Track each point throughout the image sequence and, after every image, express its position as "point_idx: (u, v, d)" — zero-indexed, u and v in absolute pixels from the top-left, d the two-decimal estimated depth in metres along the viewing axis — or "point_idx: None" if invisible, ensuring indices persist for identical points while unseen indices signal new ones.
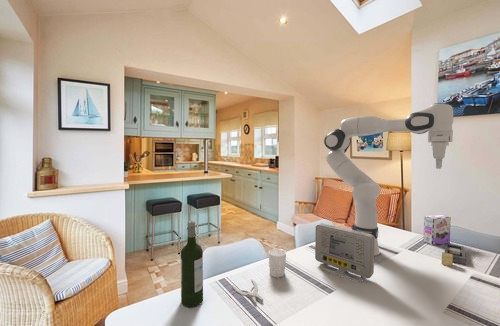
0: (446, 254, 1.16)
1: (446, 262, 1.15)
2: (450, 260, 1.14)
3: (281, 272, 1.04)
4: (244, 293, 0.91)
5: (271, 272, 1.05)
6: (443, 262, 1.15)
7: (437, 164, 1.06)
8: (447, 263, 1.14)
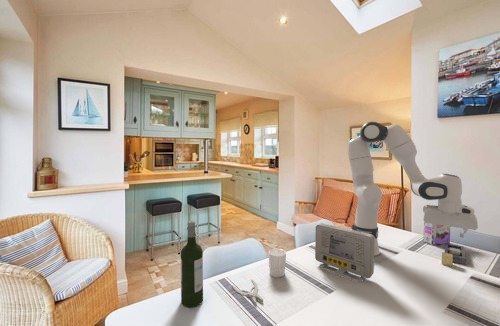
0: (446, 254, 1.16)
1: (446, 262, 1.15)
2: (450, 260, 1.14)
3: (281, 272, 1.04)
4: (244, 293, 0.91)
5: (271, 272, 1.05)
6: (443, 262, 1.15)
7: (464, 233, 1.11)
8: (447, 263, 1.14)
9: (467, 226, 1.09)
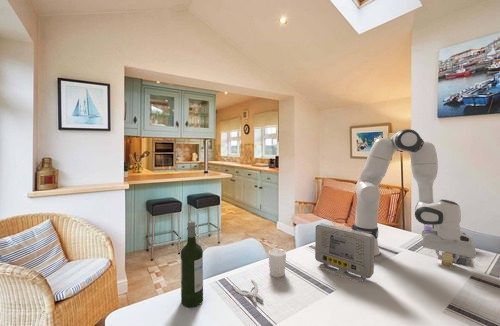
0: (446, 254, 1.16)
1: (446, 262, 1.15)
2: (450, 260, 1.14)
3: (281, 272, 1.04)
4: (244, 293, 0.91)
5: (271, 272, 1.05)
6: (443, 262, 1.15)
7: (456, 259, 1.13)
8: (447, 263, 1.14)
9: (465, 253, 1.10)
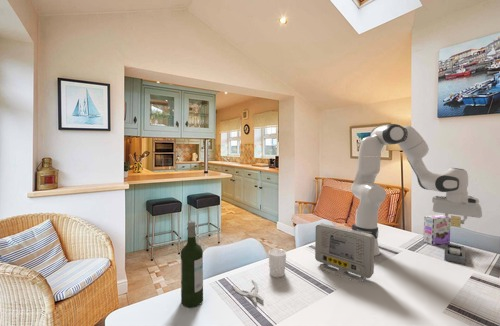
0: (455, 216, 1.28)
1: (455, 223, 1.27)
2: (459, 221, 1.26)
3: (281, 272, 1.04)
4: (244, 293, 0.91)
5: (271, 272, 1.05)
6: (452, 223, 1.28)
7: (464, 220, 1.26)
8: (456, 224, 1.27)
9: (473, 214, 1.23)
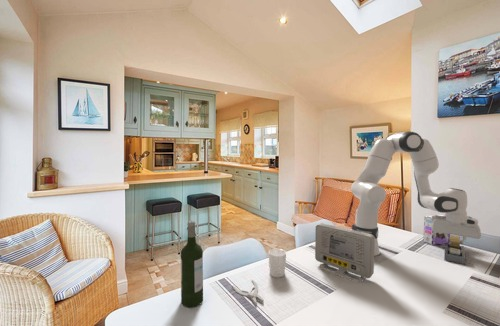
0: (454, 236, 1.29)
1: (454, 243, 1.28)
2: (458, 242, 1.27)
3: (281, 272, 1.04)
4: (244, 293, 0.91)
5: (271, 272, 1.05)
6: (451, 243, 1.28)
7: None
8: (455, 244, 1.27)
9: (472, 235, 1.23)
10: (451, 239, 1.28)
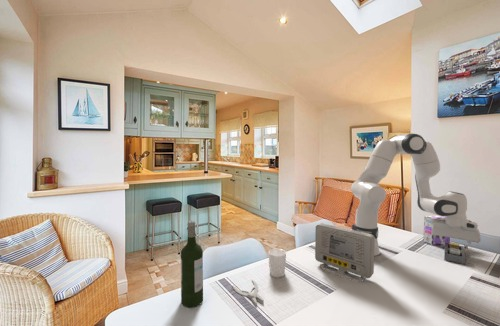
0: (453, 243, 1.29)
1: None
2: None
3: (281, 272, 1.04)
4: (244, 294, 0.91)
5: (271, 272, 1.05)
6: None
7: (468, 245, 1.25)
8: None
9: (471, 239, 1.23)
10: (450, 246, 1.29)
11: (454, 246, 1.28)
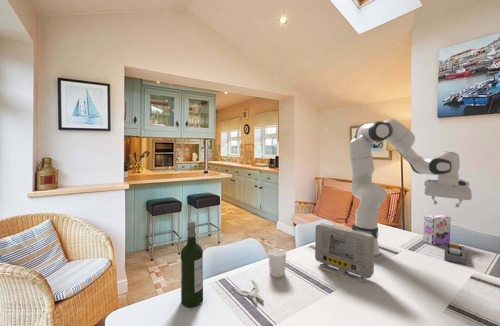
0: (453, 243, 1.29)
1: None
2: None
3: (281, 272, 1.04)
4: (244, 294, 0.91)
5: (271, 272, 1.05)
6: None
7: None
8: None
9: (463, 196, 1.25)
10: (450, 246, 1.29)
11: (454, 246, 1.28)
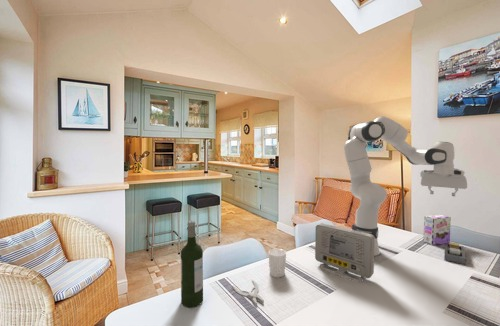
0: (453, 243, 1.29)
1: None
2: None
3: (281, 272, 1.04)
4: (245, 294, 0.91)
5: (271, 272, 1.05)
6: None
7: None
8: None
9: (458, 185, 1.27)
10: (450, 246, 1.29)
11: (454, 246, 1.28)
